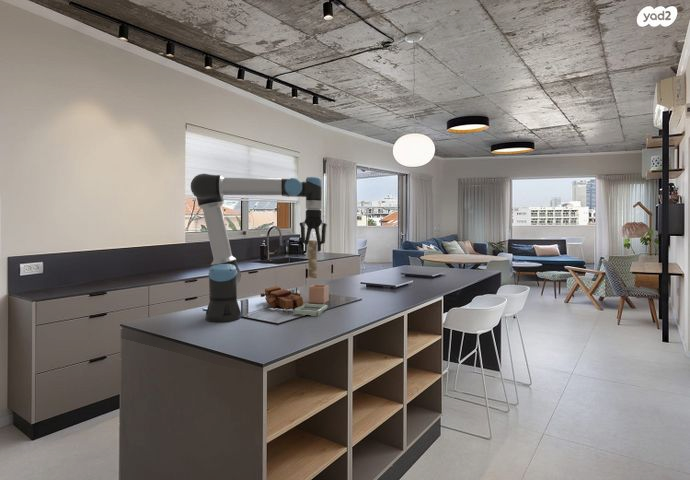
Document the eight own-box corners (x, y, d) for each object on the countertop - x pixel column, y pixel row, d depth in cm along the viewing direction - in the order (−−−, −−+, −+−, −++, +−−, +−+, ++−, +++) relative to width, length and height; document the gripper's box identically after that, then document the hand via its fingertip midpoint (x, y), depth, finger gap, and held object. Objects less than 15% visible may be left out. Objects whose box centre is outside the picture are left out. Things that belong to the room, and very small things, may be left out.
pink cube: (309, 304, 218) (309, 286, 218) (314, 301, 226) (314, 284, 226) (323, 305, 216) (323, 287, 216) (328, 302, 224) (328, 285, 223)
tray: (293, 314, 196) (293, 309, 196) (304, 308, 209) (304, 303, 209) (317, 316, 193) (317, 311, 193) (327, 309, 206) (327, 305, 206)
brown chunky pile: (311, 307, 206) (283, 296, 231) (309, 290, 205) (281, 281, 230) (279, 316, 197) (254, 304, 222) (277, 298, 196) (252, 288, 221)
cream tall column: (307, 277, 206) (307, 240, 205) (309, 276, 209) (310, 240, 208) (315, 278, 205) (315, 240, 204) (317, 277, 209) (318, 240, 208)
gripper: (294, 209, 203) (293, 257, 205) (328, 209, 199) (327, 259, 201) (299, 209, 211) (298, 256, 212) (332, 210, 207) (331, 258, 208)
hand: (312, 257), depth 206 cm, fingers closed on cream tall column, 4 cm apart
